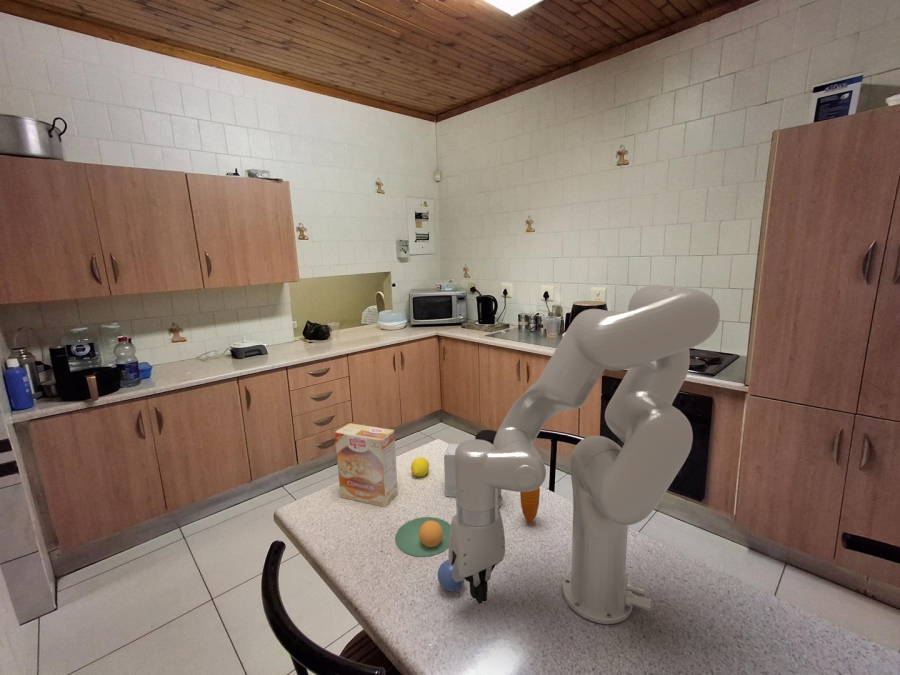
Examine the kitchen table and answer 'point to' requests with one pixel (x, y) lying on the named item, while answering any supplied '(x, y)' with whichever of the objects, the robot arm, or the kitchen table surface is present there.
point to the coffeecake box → (367, 464)
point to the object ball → (430, 533)
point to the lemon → (420, 466)
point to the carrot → (530, 504)
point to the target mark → (411, 542)
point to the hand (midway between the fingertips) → (478, 597)
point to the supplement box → (450, 470)
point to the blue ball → (448, 577)
